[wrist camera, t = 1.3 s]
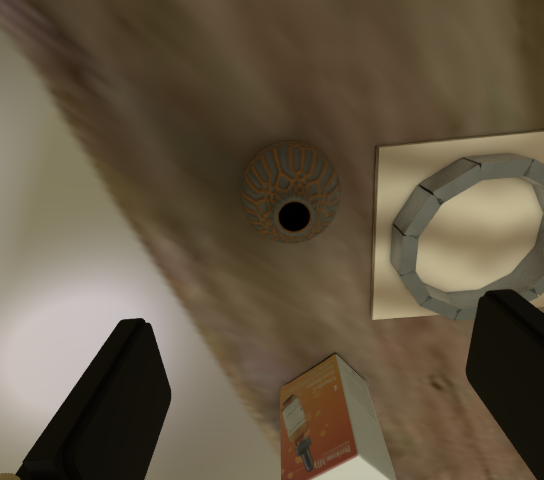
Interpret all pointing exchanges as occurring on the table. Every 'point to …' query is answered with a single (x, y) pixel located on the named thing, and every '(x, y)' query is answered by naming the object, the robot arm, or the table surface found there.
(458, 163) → the ring collar
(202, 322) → the table surface
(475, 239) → the birch board
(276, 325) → the table surface
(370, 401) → the small box
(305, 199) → the vase
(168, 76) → the table surface
